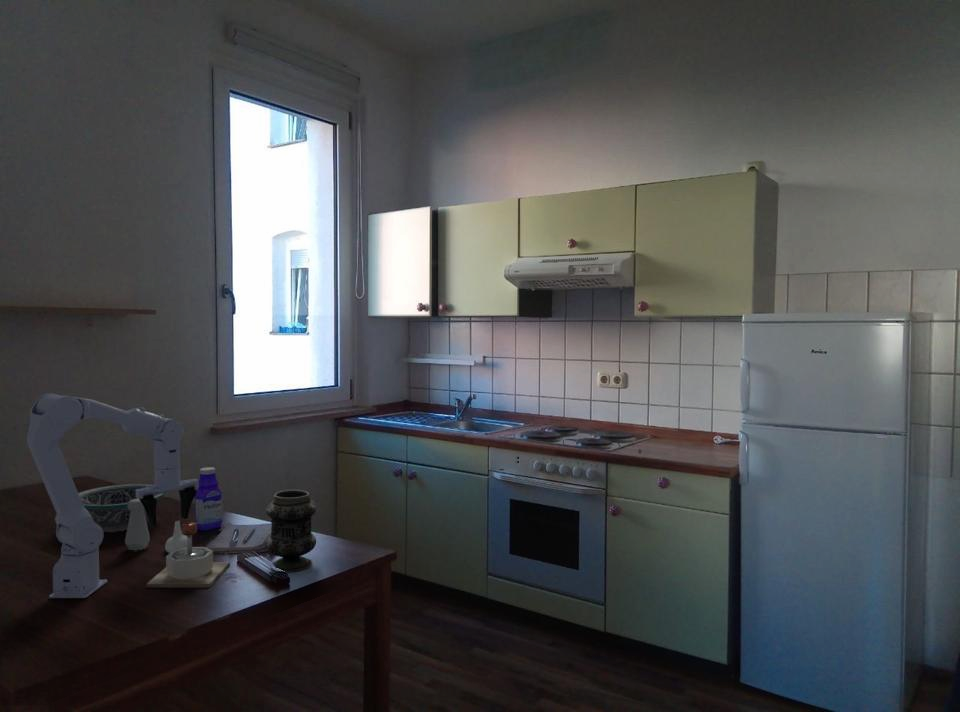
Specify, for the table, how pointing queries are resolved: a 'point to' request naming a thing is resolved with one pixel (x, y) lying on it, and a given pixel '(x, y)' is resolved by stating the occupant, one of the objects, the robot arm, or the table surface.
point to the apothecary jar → (291, 529)
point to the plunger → (189, 543)
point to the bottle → (208, 501)
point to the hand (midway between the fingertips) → (169, 521)
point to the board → (203, 581)
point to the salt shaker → (137, 527)
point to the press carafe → (189, 565)
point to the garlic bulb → (176, 539)
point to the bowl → (112, 505)
